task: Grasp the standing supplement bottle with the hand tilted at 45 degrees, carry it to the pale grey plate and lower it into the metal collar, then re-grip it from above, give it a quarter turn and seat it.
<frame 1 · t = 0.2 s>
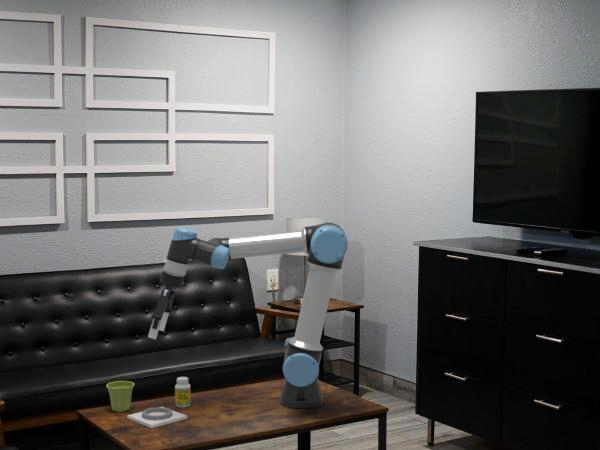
hand: (155, 334, 295), 27 cm above the table, tool tilted 15°, fingers open, 13 cm apart
socket: (157, 418, 292), on the table
supplement bottle: (182, 405, 307), on the table
plant pot: (120, 409, 302), on the table
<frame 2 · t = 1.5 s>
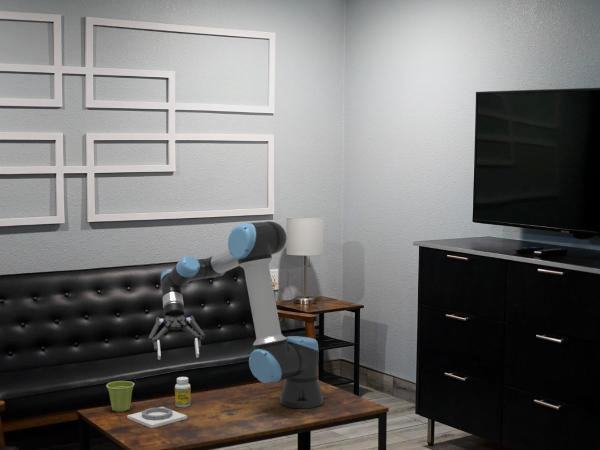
hand: (178, 356, 316), 15 cm above the table, tool tilted 45°, fingers open, 13 cm apart
nothing on the table moved.
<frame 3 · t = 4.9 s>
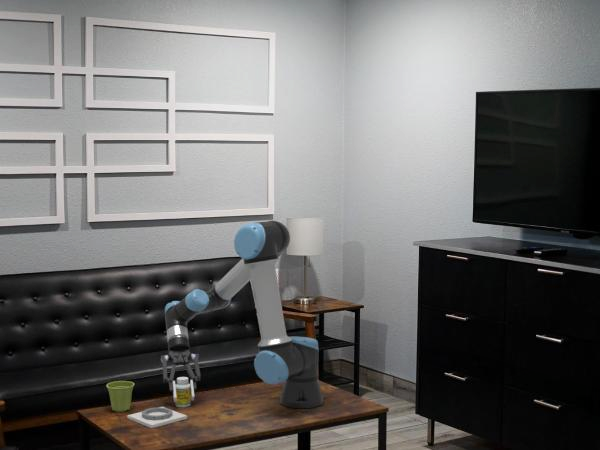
hand: (184, 398, 303), 3 cm above the table, tool tilted 45°, fingers closed on supplement bottle, 5 cm apart
supplement bottle: (182, 405, 307), on the table, touching gripper
everything else where it was.
when the fingers open (6 cm above the table, at t = 9.8 s): supplement bottle drops 1 cm, resting on socket.
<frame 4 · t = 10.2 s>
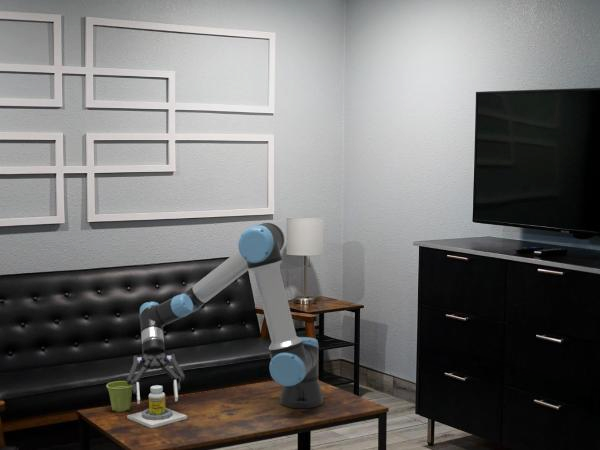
hand: (157, 400, 289), 7 cm above the table, tool tilted 45°, fingers open, 11 cm apart
supplement bottle: (157, 415, 292), point 1 cm above the table, touching socket
everything else where it was.
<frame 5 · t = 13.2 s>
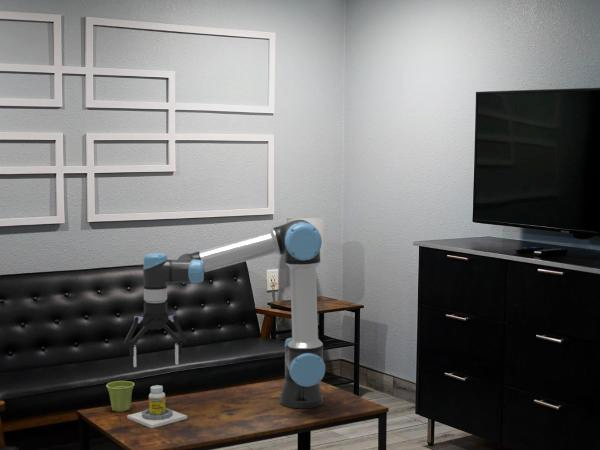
hand: (155, 365, 291), 18 cm above the table, tool pointing down, fingers open, 13 cm apart
nothing on the table moved.
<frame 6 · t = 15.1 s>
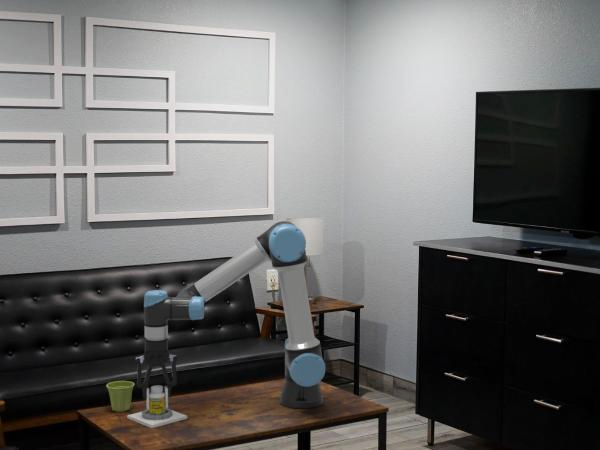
hand: (157, 407, 292), 4 cm above the table, tool pointing down, fingers closed on supplement bottle, 5 cm apart
supplement bottle: (157, 416, 292), point 1 cm above the table, touching gripper, socket
everything else where it was.
when the fingers open (4 cm above the table, at t = 16.5 s): supplement bottle stays where it is, resting on socket.
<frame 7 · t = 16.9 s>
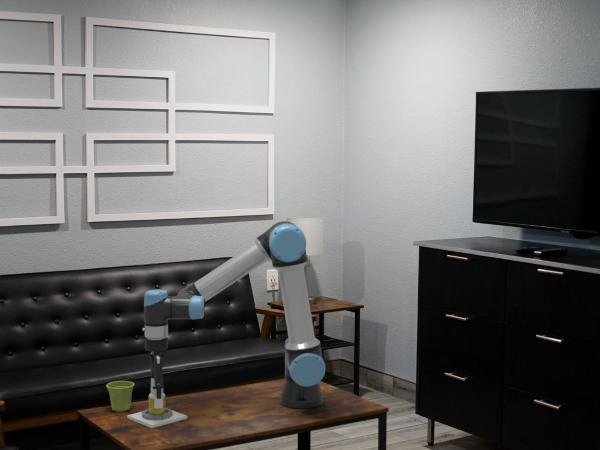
hand: (157, 402, 292), 5 cm above the table, tool pointing down, fingers open, 11 cm apart
supplement bottle: (157, 416, 292), point 1 cm above the table, touching socket
everything else where it was.
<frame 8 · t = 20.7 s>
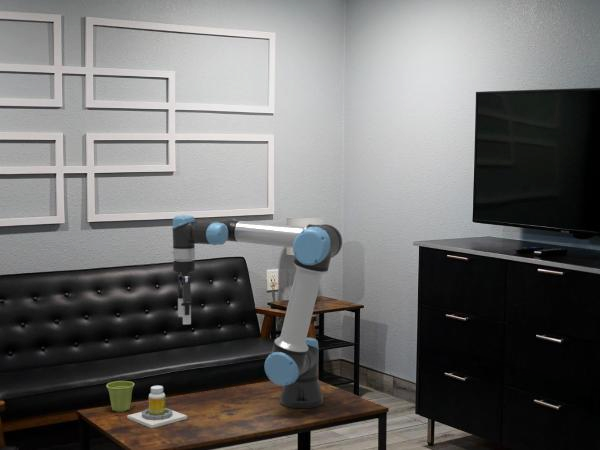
hand: (184, 320, 310), 29 cm above the table, tool pointing down, fingers open, 13 cm apart
nothing on the table moved.
at the end: supplement bottle 0.1 cm from the socket (horizontally); supplement bottle tilted 0°; the gripper is holding nothing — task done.
